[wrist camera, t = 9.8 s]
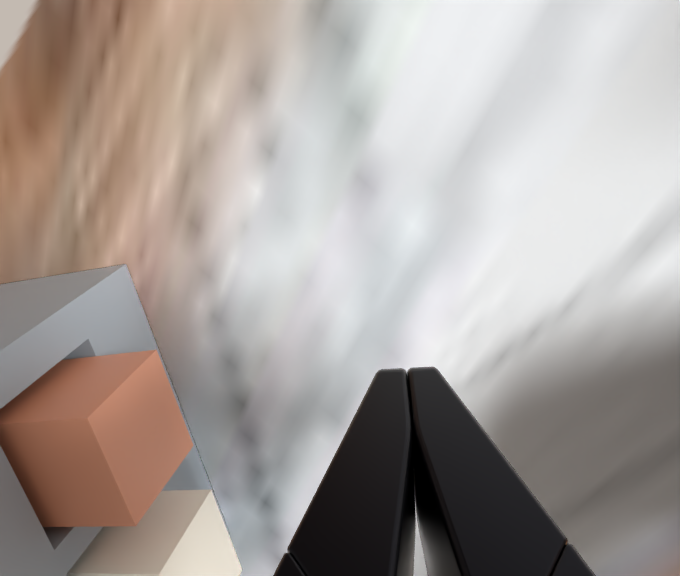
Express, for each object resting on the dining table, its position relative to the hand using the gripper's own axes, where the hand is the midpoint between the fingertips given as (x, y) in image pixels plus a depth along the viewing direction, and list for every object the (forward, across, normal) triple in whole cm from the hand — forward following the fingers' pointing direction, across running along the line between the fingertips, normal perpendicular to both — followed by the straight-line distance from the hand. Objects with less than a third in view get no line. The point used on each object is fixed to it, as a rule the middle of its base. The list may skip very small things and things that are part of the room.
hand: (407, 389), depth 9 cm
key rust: (+10, +11, +9) cm, 17 cm away
